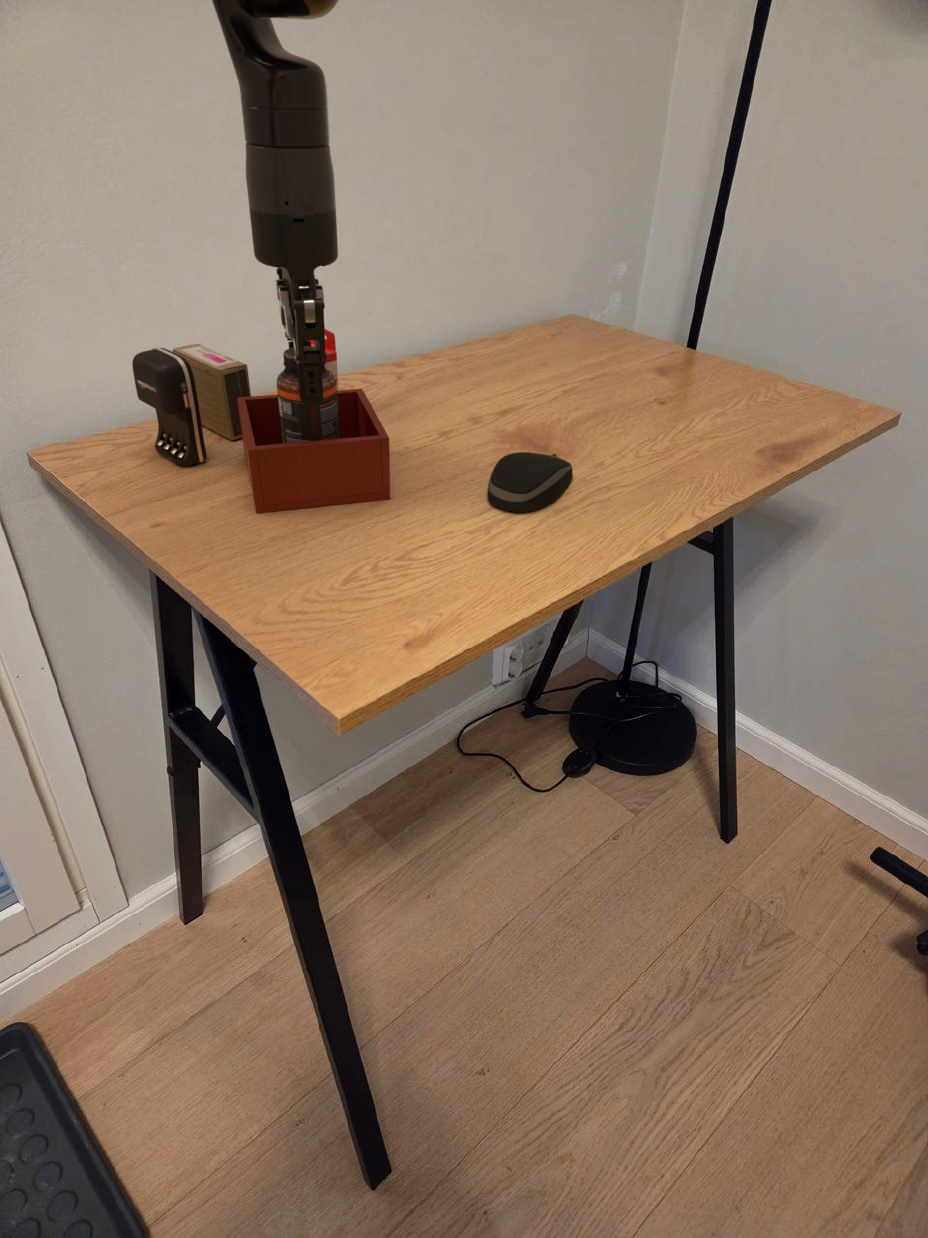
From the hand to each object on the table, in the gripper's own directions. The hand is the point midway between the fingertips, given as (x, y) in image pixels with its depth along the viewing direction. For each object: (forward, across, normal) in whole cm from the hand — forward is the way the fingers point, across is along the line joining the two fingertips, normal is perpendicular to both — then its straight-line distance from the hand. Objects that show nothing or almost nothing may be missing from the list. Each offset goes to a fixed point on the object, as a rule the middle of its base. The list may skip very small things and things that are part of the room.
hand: (307, 388), depth 79 cm
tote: (+10, 0, 0) cm, 10 cm away
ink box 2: (+10, -18, +3) cm, 21 cm away
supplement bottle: (+8, 0, 0) cm, 8 cm away
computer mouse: (+10, +8, +22) cm, 25 cm away
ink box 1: (+10, -16, -9) cm, 21 cm away
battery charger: (+10, -8, -14) cm, 19 cm away
